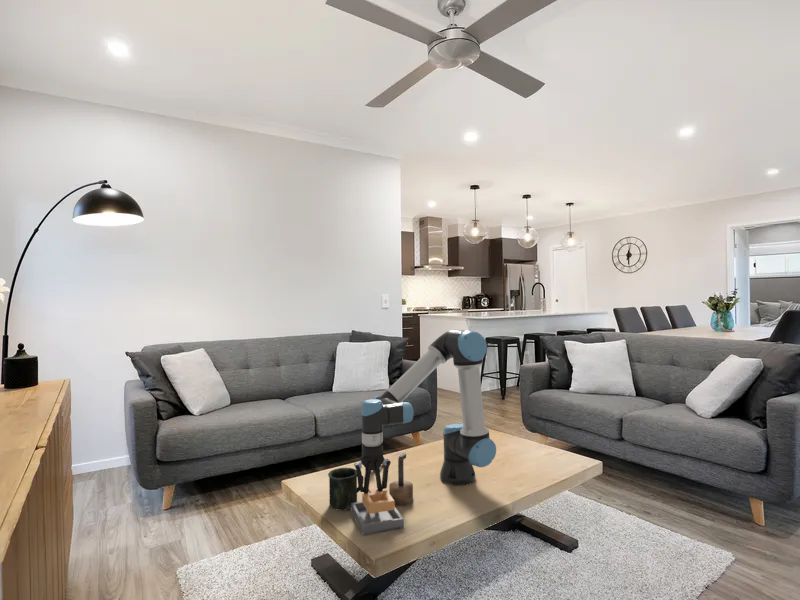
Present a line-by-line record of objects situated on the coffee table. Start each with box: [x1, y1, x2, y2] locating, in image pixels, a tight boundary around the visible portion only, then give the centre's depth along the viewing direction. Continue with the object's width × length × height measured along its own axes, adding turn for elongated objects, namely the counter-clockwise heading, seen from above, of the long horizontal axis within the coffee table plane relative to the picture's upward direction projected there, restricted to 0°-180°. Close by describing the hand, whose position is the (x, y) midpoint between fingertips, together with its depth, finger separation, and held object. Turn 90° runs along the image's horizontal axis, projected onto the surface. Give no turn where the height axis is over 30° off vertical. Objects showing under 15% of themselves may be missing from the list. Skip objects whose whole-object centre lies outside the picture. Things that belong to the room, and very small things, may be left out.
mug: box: [327, 467, 365, 511], centre depth 166 cm, size 11×15×12 cm
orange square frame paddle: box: [361, 486, 396, 514], centre depth 154 cm, size 14×9×3 cm, turn 19°
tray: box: [350, 501, 405, 536], centre depth 153 cm, size 14×18×3 cm
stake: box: [388, 453, 414, 507], centre depth 168 cm, size 9×9×18 cm
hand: (372, 509), depth 158 cm, fingers closed on orange square frame paddle, 2 cm apart
